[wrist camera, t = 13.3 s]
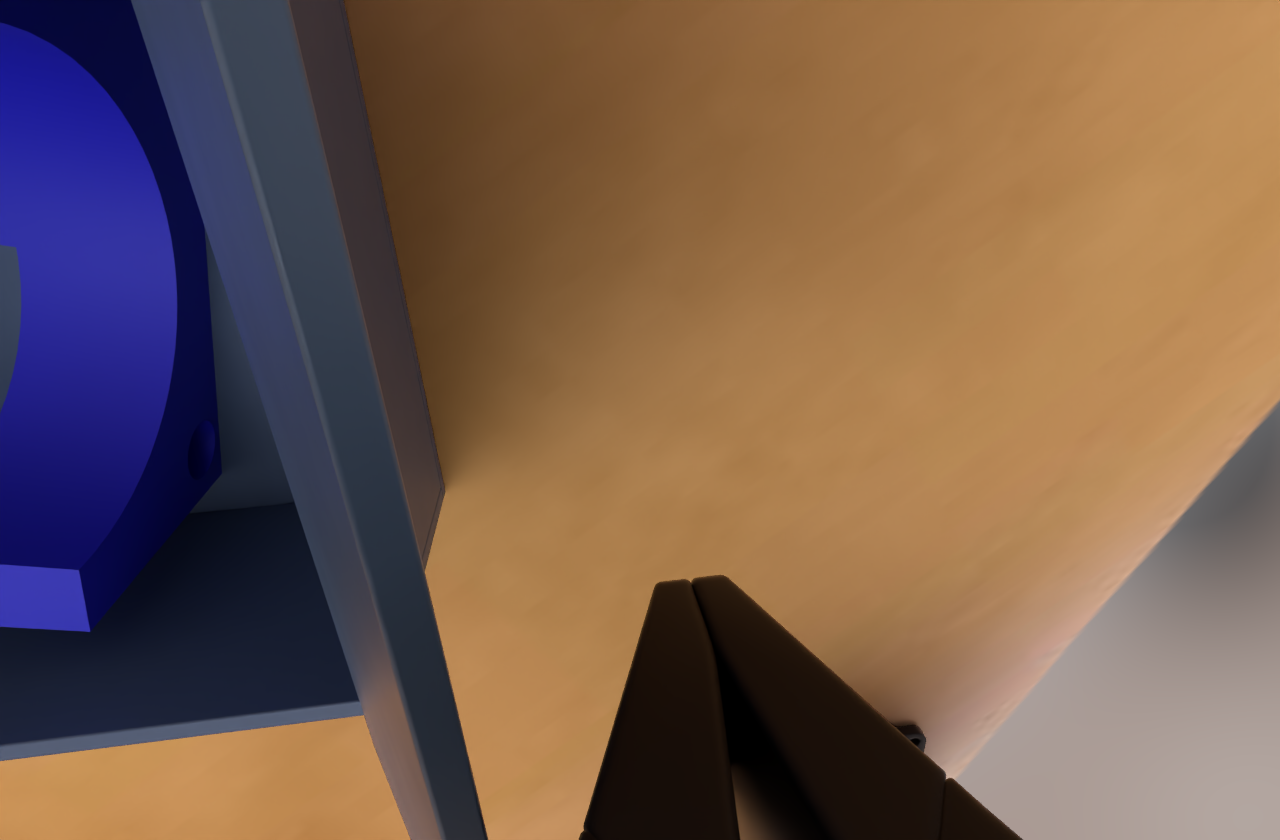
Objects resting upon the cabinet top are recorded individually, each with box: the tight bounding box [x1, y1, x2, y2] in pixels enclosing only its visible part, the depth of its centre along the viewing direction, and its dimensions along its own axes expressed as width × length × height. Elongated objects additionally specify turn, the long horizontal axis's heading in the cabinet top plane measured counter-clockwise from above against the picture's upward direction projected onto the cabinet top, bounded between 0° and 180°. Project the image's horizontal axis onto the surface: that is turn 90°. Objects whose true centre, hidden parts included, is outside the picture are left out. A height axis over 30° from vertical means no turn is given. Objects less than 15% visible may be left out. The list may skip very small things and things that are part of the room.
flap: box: [131, 0, 488, 840], centre depth 7 cm, size 6×15×1 cm
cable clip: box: [0, 0, 222, 632], centre depth 13 cm, size 12×4×6 cm, turn 169°
